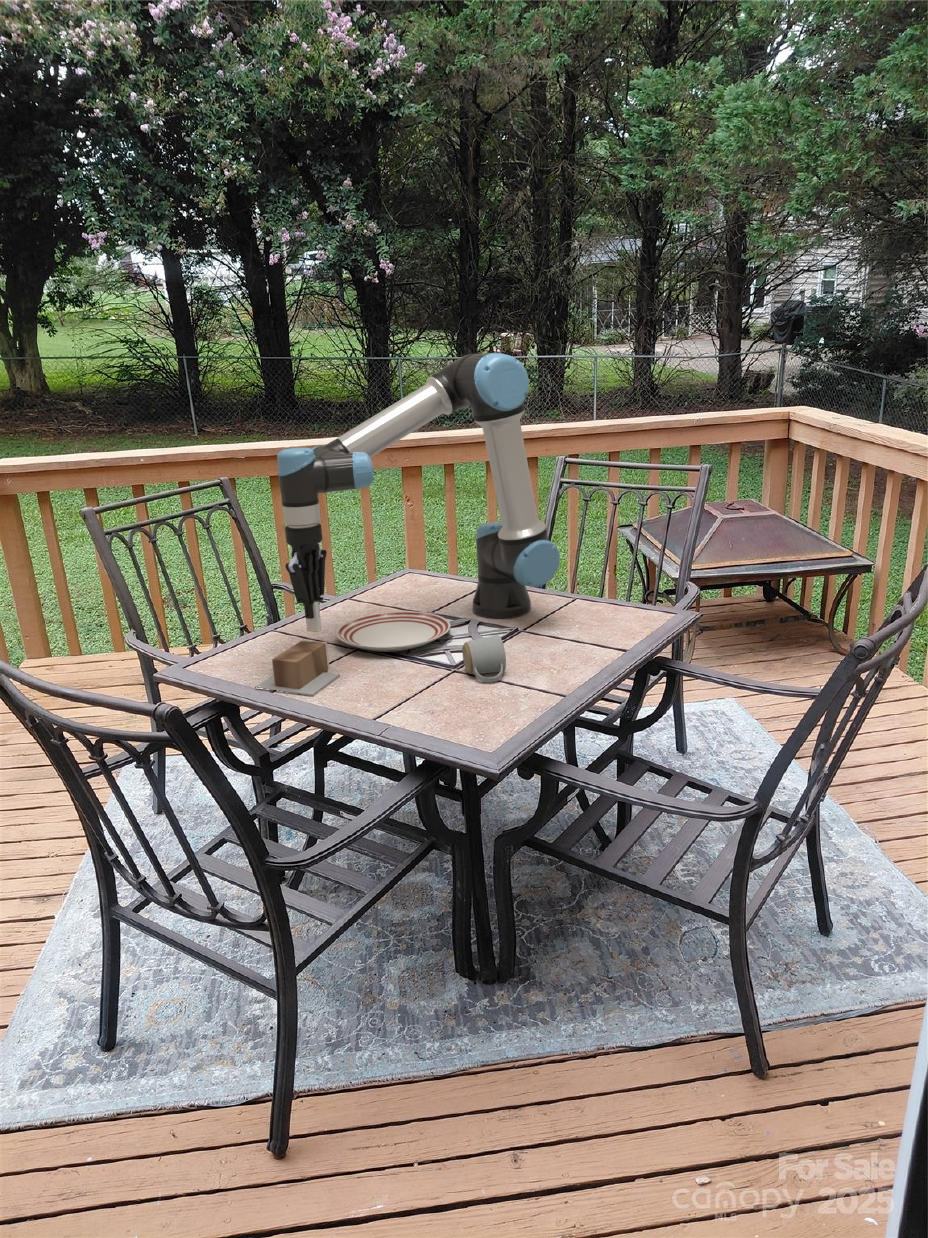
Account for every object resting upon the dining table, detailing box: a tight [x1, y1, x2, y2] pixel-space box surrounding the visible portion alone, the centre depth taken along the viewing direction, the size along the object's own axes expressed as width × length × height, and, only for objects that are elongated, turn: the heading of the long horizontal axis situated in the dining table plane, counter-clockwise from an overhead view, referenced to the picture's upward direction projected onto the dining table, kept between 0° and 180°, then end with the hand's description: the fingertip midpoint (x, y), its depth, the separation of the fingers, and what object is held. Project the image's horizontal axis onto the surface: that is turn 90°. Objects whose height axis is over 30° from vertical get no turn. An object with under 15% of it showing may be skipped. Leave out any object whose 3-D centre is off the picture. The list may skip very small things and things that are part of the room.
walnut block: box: [271, 639, 330, 689], centre depth 178 cm, size 6×6×12 cm
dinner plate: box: [335, 610, 451, 653], centre depth 200 cm, size 28×27×3 cm
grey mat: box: [255, 671, 340, 697], centre depth 177 cm, size 14×11×1 cm
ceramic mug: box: [461, 634, 507, 684], centre depth 176 cm, size 11×8×8 cm
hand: (314, 630), depth 182 cm, fingers closed
